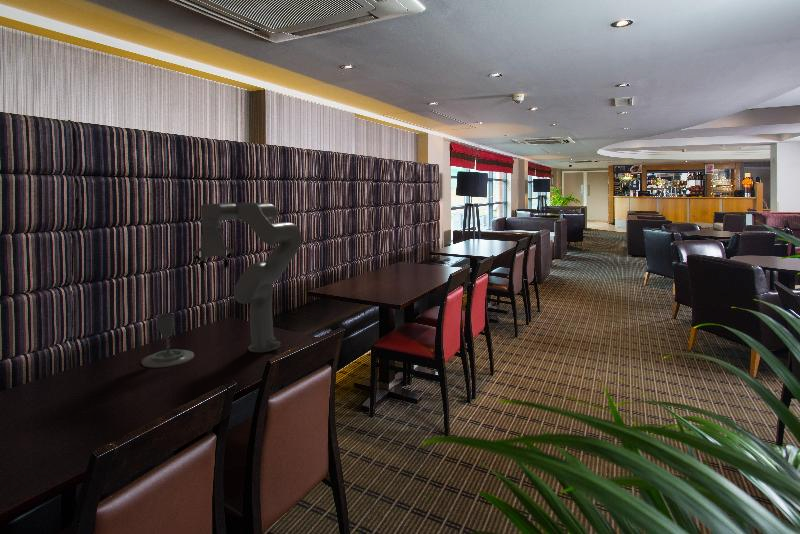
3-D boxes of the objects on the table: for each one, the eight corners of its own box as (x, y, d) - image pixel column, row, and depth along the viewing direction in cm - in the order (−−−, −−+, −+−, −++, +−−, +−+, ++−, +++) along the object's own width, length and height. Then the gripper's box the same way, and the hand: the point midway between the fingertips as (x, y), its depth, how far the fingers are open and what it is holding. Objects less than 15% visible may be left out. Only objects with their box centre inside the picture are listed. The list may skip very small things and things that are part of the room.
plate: (204, 354, 217) (204, 348, 216) (168, 369, 198) (167, 364, 198) (168, 350, 224) (167, 345, 223) (130, 364, 205) (129, 359, 205)
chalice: (181, 354, 214) (177, 313, 211) (173, 360, 207) (168, 317, 205) (165, 354, 215) (161, 313, 212) (156, 360, 208) (151, 317, 205)
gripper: (230, 229, 234) (233, 266, 237) (190, 232, 227) (193, 269, 229) (232, 230, 227) (235, 268, 230) (191, 233, 220) (194, 271, 223)
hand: (214, 268), depth 230 cm, fingers open, 9 cm apart
